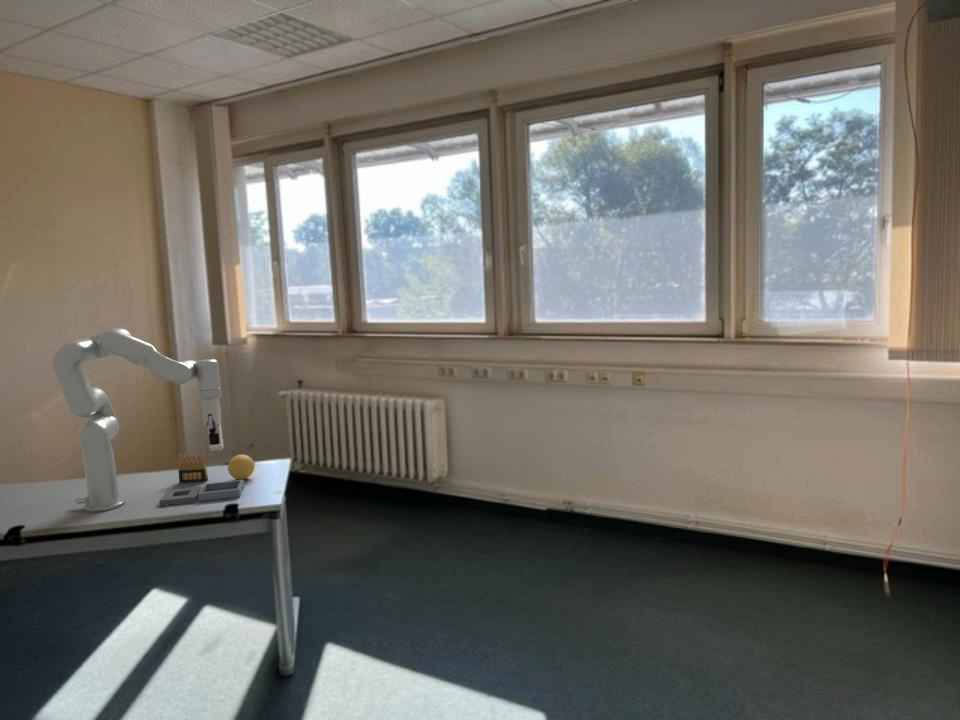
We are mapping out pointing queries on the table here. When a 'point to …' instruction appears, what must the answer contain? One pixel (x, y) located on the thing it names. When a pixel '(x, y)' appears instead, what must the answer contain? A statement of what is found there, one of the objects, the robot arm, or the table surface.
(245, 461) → the stress ball
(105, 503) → the robot arm
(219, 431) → the fuse
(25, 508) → the table surface
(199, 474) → the ammunition clip
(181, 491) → the frame
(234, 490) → the parts tray
